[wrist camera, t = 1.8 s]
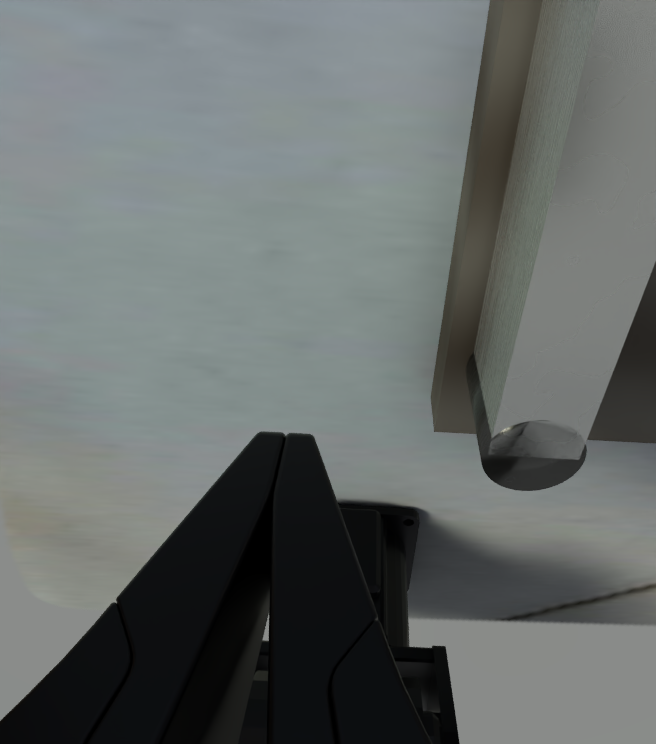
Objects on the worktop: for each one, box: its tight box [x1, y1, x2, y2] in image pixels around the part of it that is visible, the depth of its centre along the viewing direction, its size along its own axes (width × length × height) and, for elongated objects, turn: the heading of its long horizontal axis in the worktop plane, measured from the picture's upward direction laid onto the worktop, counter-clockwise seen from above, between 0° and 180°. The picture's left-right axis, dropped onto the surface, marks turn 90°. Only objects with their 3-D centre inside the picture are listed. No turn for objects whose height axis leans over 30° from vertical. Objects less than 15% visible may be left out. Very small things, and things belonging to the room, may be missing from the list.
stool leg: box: [466, 0, 656, 491], centre depth 14 cm, size 18×3×4 cm, turn 0°
